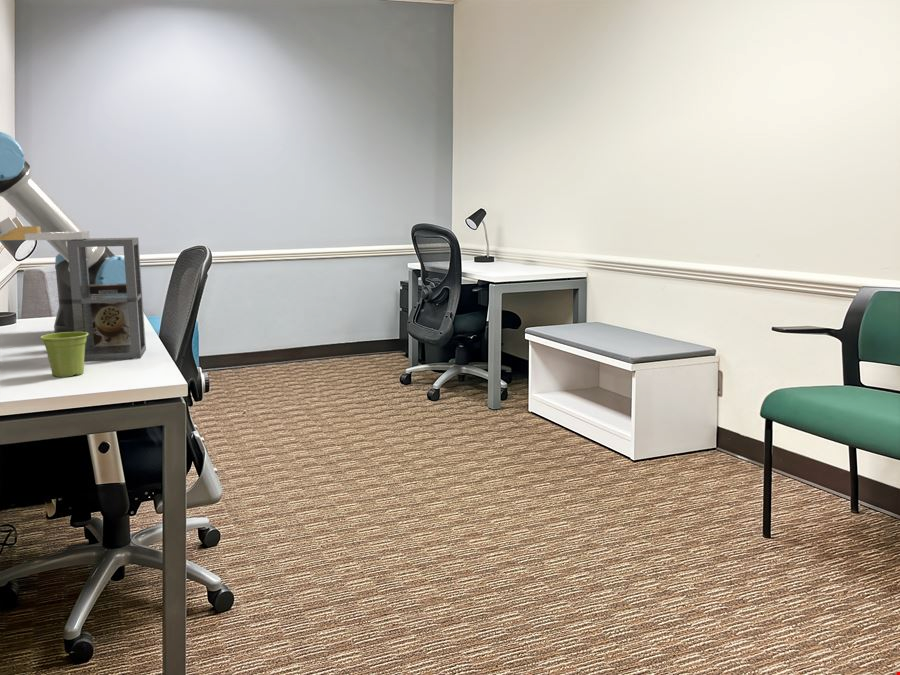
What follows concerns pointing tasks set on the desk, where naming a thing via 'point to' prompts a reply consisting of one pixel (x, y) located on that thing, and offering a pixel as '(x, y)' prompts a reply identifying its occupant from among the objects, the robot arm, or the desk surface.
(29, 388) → the desk surface
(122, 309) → the coffee box
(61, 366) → the plant pot
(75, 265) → the rack
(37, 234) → the blanking panel
